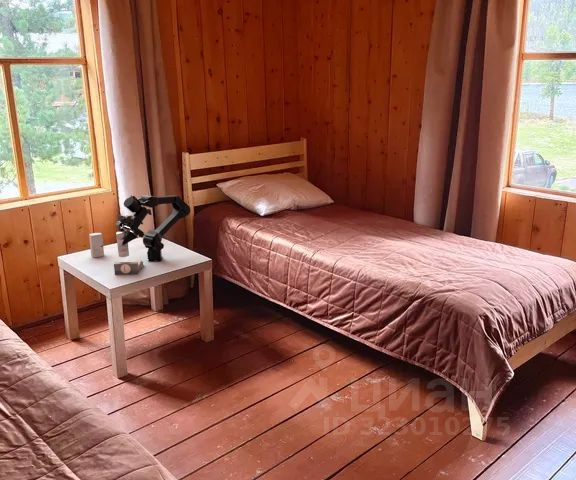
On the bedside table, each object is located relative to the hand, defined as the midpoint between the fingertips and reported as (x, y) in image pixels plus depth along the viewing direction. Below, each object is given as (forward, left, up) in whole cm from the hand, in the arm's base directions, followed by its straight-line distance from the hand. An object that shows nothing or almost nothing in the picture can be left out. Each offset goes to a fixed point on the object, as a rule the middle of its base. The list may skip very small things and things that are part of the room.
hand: (120, 243), depth 272 cm
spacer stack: (-1, -1, -7) cm, 7 cm away
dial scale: (-4, +1, -13) cm, 14 cm away
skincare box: (+18, -22, -14) cm, 32 cm away
